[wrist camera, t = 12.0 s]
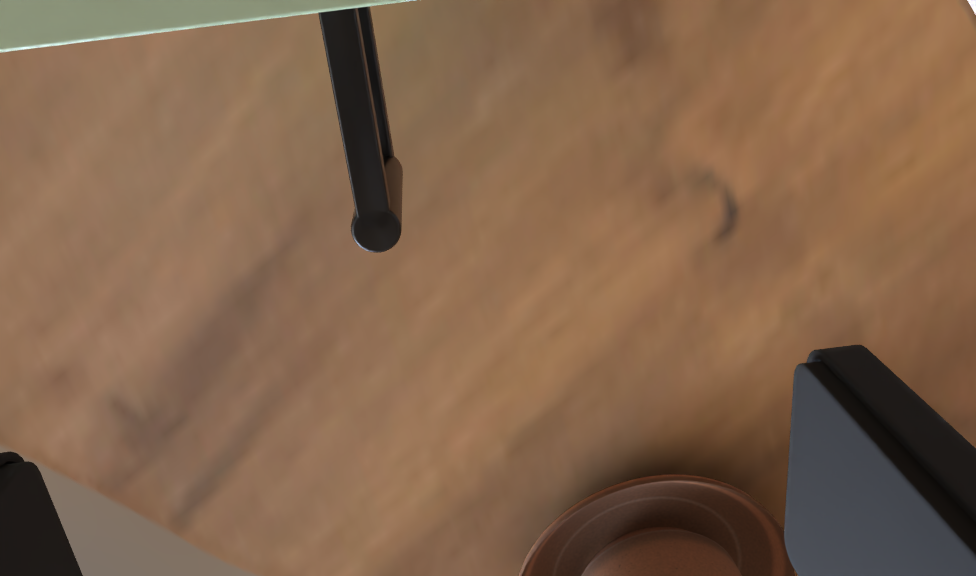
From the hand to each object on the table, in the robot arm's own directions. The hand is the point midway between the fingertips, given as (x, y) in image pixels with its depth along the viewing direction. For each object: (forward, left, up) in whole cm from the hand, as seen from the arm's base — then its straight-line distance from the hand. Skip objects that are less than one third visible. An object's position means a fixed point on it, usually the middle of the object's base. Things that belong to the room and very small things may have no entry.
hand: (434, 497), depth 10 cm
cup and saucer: (+6, +20, -19) cm, 28 cm away
